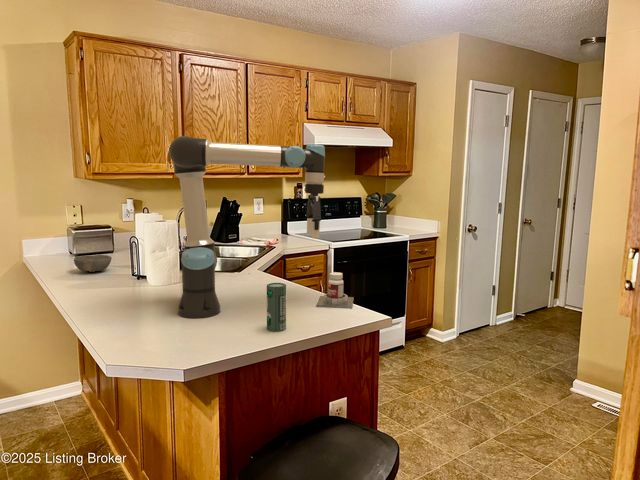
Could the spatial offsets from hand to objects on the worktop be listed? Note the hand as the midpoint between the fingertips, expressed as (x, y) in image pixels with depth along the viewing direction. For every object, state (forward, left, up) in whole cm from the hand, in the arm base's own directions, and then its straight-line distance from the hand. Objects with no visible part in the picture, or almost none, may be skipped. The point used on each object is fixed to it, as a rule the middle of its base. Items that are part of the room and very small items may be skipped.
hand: (312, 236), depth 191 cm
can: (-39, +7, -27) cm, 48 cm away
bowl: (+36, +119, -27) cm, 127 cm away
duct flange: (-4, -10, -26) cm, 29 cm away
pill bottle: (-4, -10, -26) cm, 28 cm away
